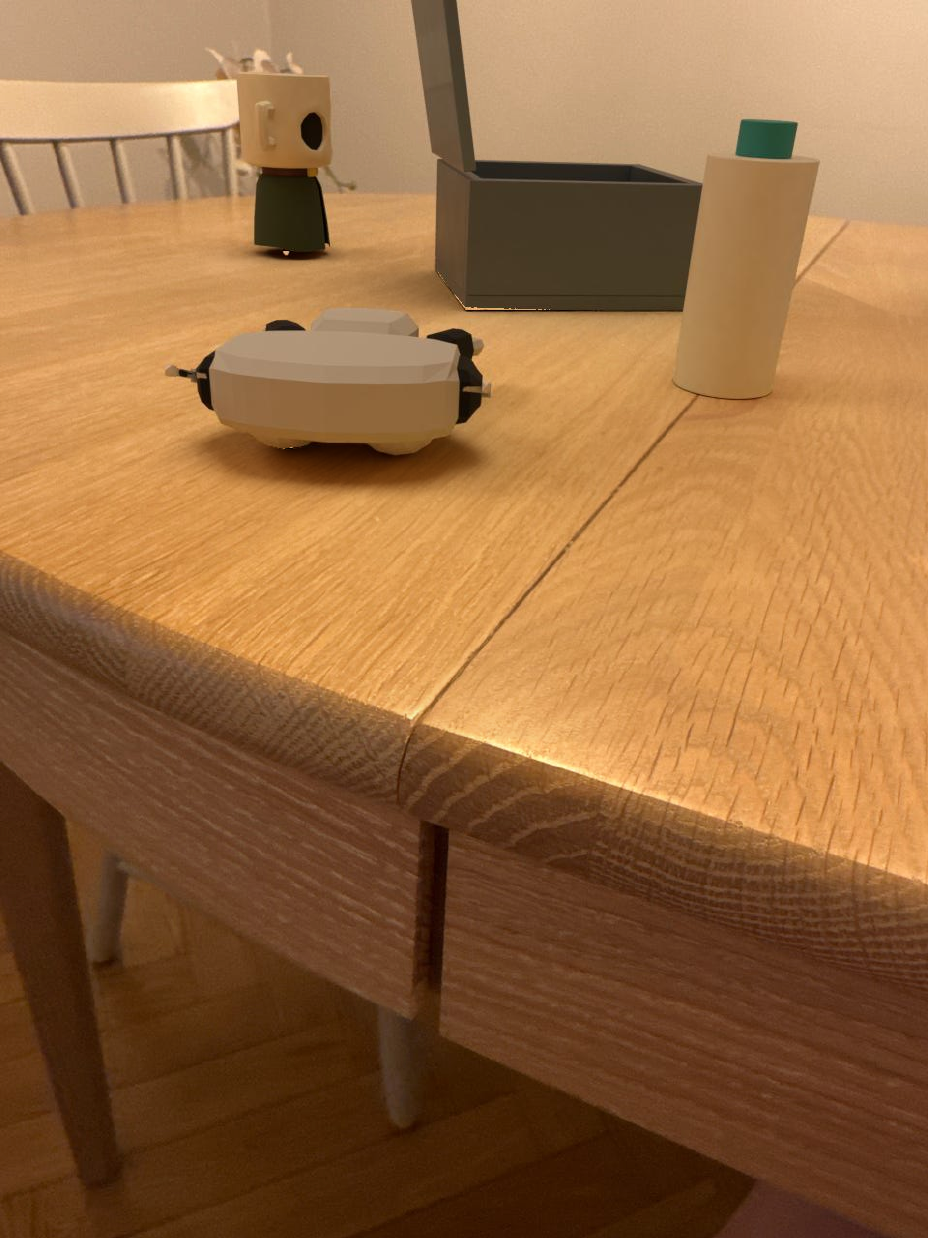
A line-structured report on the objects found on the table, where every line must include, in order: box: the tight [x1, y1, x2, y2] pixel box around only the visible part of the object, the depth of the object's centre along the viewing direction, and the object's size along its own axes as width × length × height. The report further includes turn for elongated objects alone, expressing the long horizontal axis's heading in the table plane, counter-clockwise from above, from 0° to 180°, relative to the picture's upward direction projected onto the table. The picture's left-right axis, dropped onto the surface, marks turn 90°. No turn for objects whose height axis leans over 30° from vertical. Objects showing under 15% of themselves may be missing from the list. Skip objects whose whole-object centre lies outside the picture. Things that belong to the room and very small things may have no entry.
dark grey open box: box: [434, 158, 703, 312], centre depth 68 cm, size 16×14×8 cm
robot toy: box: [164, 307, 492, 456], centre depth 42 cm, size 12×4×15 cm
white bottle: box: [672, 118, 820, 400], centre depth 47 cm, size 5×5×12 cm
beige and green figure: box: [235, 71, 334, 253], centre depth 75 cm, size 11×7×13 cm, turn 168°
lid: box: [410, 0, 476, 172], centre depth 60 cm, size 17×14×1 cm
